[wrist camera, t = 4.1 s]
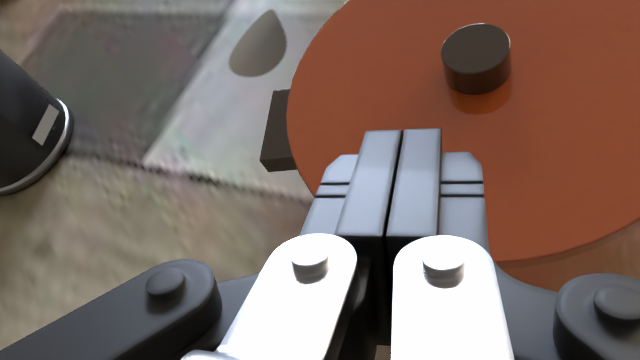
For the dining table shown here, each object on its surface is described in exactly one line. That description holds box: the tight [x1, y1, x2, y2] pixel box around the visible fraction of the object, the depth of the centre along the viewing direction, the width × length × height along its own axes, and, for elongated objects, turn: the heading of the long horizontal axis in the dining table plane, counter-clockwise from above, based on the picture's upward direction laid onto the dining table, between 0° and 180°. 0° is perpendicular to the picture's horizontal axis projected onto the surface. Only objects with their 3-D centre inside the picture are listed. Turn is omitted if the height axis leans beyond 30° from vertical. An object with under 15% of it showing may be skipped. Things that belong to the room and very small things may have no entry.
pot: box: [260, 0, 640, 292], centre depth 23 cm, size 19×15×12 cm
